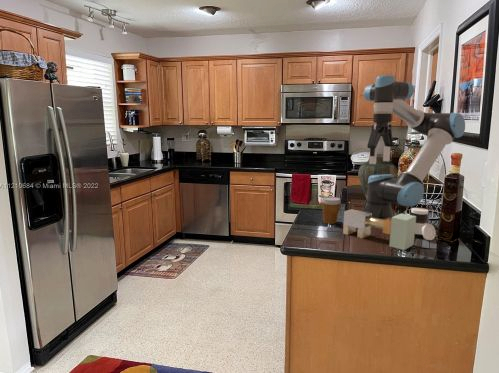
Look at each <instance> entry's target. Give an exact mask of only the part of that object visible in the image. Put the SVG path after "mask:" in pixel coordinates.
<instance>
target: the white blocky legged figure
mask: <svg viewBox="0 0 499 373" xmlns="http://www.w3.org/2000/svg"><path fill="white" fill-rule="evenodd" d="M363 211H364V210H363ZM363 211H361V210H356V209H353V208H352V209H348V210H344V211H343V223H342V224H343V225H342V229H343V230H342V234H344V235H348V236H349V235H350V234H353V233H355V232H357V235H356V236H357V237H356V238H359V239H364V238H367V237H369V236H370V235H371V233H372V232H371V230H372V229H371V228H372V227H370V226H366V225H365V219H366V216H368V217H372V213H368V212H363Z"/></svg>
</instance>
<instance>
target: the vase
mask: <svg viewBox="0 0 499 373" xmlns="http://www.w3.org/2000/svg"><path fill="white" fill-rule="evenodd" d="M369 158H370V156H369V157H368V159H367V161H366V162H364V163H362V164H361V165H360V166H359V168H358V172H357V173H358V174H357V175H358V181H359V184H360V187H361V189H362V191H363V194H364V196H365V198H366V200H367V187H368V179H369V177H370V176H371V175H382V174H391V175H393V177H394V179H397V178H398V176H399V175H398V170H397V166H396V165H394V164H393V163H391V162H390V161H383V153H377V156H376V164H369Z"/></svg>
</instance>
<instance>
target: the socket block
mask: <svg viewBox="0 0 499 373" xmlns="http://www.w3.org/2000/svg"><path fill="white" fill-rule="evenodd" d="M393 216H394V217H392V220H391V232H390V234H389V235H390V236H389V245H388V246H389V247H390V248H391V247H392V248H395V249H398V250H402V251H405V250H407V249H409V248H410V247H412V246H414V243H415V242H414V240H415V237H414V234H415V223H416V216H413V215H410V214H408V213H407V214H406V213H402V212H401V213H398V214H396V215H393Z"/></svg>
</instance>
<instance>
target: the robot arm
mask: <svg viewBox="0 0 499 373" xmlns="http://www.w3.org/2000/svg"><path fill="white" fill-rule="evenodd" d="M395 78H396V77H395V76H394V75H391V74H386V75H385V74H383V75H382V74H381V75H378V76H377V77H376V79H375V83H373V84H368V85H366V86H365V88H364V89H363V97H364V99H365V100H366V101H367V102H374V103H373V104H374V105H373V107H372V108H373V117H372V118H373V119H372V122H373V123H375V124H372V125H371V126H372V127H371V132H370V136H369V139H368V142H367V145H366V146H367V149H369V157H370V158H369V157H368V159H369V164H376V156H377V154H378V148H377V146H378V144H379V141H380V139H381V137H382V139H383V143H384V144H383V145H384V146H383V153H382V154H383V161H389V162H390V161H391V160H390V158H391V147H394V141H393V138H394V137H393V132H392V131H393V130H392V124H391V122H392V121H393V115H395V116H396V117H398V118H399V119H401V120H402V121H404V122H405V123H406V125H407V126H408V128H410V129H412V130H413V131H415V132H417V133H419V134H421V135H424V136H427V137H428V138H426V141H424V143H423V145H422V147H421V148H420V150H418V152H417V154H416V155H415V157H414V158H413V160H412V162H410V164H409V166H408V167H407V169H406V170H405V171H403V172H401V173H399V175H398V176H397V179H394V177H393V175H391V174H382V175H371V176H370V177H369V179H368V187H367V199H366V204H365V206H364V209H363V212H368V213H372V217H373V218H378V219H382V220H384V219H387V218H392V217H394V216H395V215H394V213H393V209H392V204H395V205H400V206H403V207H414V206H417V205H418V204H419V203H420V202H421V201H422V200H423V198H424V194H425V187H424V184H425V183H424V182H423V181H424V179H425V178H426V176H427V175H428V173H429V172H430V170H431V169H432V167H433V166H434V164H435V162H436V161H437V159H438V158H439V156H440V155H441V153H442V151H443V150H444V149H445V147H446V146H447V145H449V144H452V142H453V141H454V139H455V138H456V139H458V138H461V137H462V136H464V133H465V131H466V121H465V118H464V116H463V115H462V114H461V113H458V112H446V113H445V112H438V113H437V112H434V113H433V112H431V113H430V112H424V111H422V110H421V109H416V108H414V107H413V106H411V105H410V104H409V103H407V102H406V100H409V99H411V98H412V97H413V95H414V94H415V86H414V85H413V84H412V83H411V82H408V81H396V80H395ZM388 123H389V124H388Z"/></svg>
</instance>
